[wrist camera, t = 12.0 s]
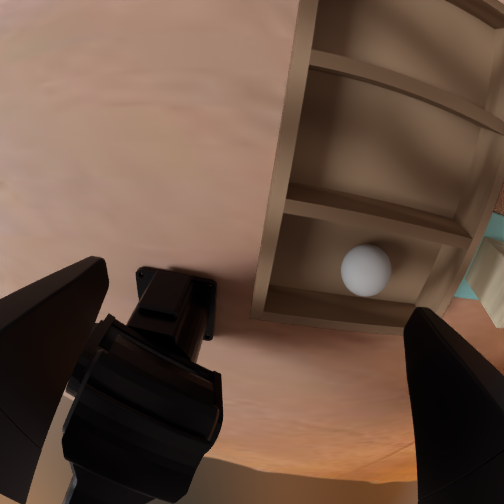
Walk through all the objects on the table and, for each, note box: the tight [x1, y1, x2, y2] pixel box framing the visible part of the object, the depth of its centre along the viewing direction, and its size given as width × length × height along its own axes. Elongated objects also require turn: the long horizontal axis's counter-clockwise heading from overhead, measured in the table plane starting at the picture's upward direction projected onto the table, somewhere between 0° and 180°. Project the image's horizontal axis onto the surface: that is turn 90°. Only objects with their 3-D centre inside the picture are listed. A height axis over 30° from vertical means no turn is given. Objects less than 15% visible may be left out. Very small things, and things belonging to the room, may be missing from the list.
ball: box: [341, 244, 392, 297], centre depth 19 cm, size 3×3×3 cm
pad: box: [453, 212, 504, 300], centre depth 19 cm, size 8×8×1 cm
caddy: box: [250, 0, 504, 335], centre depth 15 cm, size 24×14×3 cm, turn 173°
